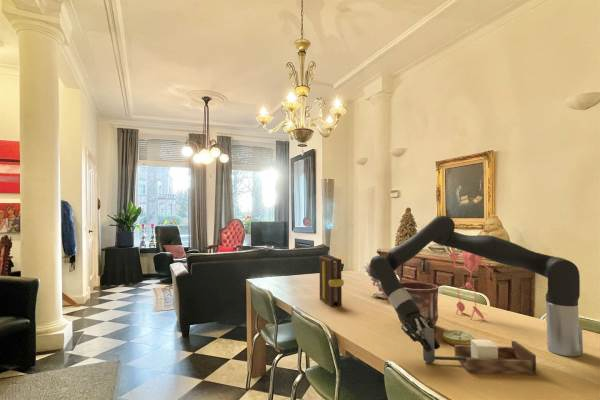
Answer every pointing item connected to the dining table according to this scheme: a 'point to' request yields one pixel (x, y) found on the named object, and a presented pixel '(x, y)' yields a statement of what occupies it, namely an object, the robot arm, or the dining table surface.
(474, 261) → the figurine
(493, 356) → the block with knobbed rod
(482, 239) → the robot arm
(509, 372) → the walnut lane
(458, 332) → the decorated donut
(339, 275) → the book
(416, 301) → the pottery
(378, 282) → the flower
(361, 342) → the dining table surface
